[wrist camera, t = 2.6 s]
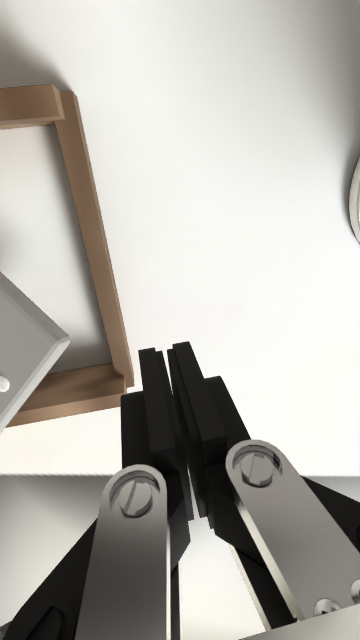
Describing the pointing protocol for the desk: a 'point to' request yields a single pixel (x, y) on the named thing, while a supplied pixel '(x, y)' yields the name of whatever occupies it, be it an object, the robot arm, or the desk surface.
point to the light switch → (24, 348)
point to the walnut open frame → (109, 379)
